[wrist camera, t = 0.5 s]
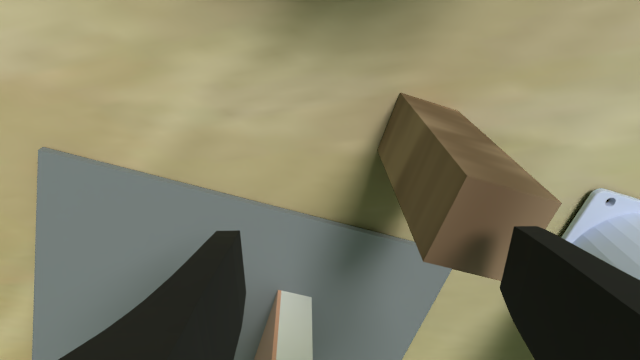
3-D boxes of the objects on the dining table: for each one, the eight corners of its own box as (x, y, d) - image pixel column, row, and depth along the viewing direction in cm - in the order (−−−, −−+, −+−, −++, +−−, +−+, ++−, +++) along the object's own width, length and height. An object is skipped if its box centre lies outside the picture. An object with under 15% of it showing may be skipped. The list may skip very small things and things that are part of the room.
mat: (456, 252, 24) (458, 256, 23) (359, 428, 30) (360, 433, 30) (43, 146, 20) (38, 150, 20) (35, 371, 27) (31, 377, 26)
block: (458, 110, 20) (561, 203, 12) (432, 165, 21) (510, 283, 13) (400, 92, 20) (467, 175, 11) (377, 150, 21) (423, 261, 13)
